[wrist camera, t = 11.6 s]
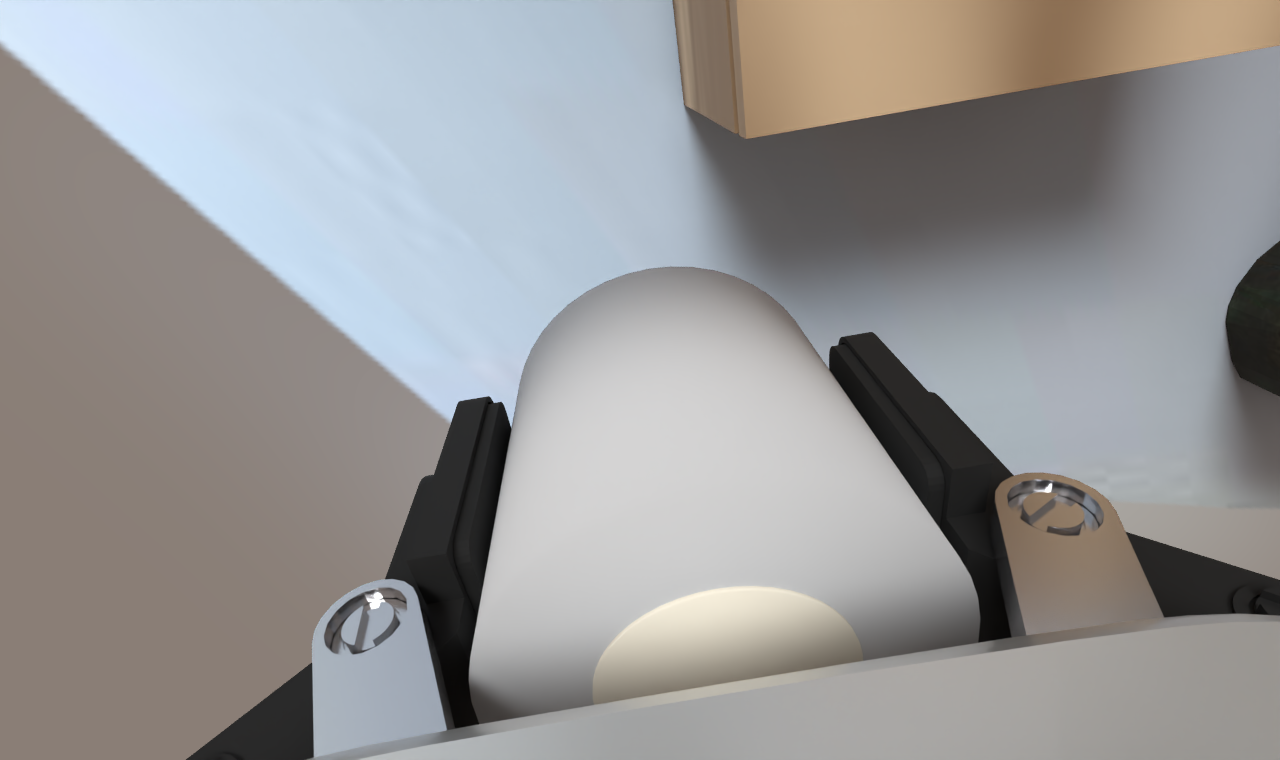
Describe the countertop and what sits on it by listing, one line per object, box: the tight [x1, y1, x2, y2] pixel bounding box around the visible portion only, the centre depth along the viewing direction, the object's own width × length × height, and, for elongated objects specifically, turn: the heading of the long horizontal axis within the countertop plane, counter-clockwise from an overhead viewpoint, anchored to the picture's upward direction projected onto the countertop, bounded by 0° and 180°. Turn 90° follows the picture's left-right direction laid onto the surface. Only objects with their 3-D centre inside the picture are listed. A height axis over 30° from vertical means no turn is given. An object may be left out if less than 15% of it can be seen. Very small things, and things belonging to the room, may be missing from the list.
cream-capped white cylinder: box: [469, 267, 980, 724], centre depth 10 cm, size 6×6×6 cm
